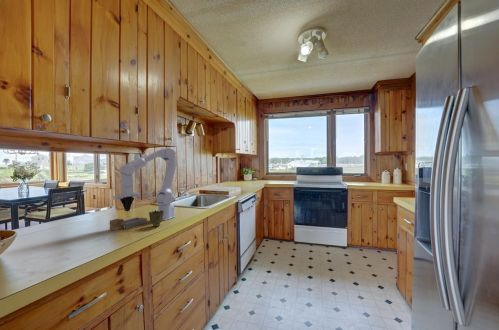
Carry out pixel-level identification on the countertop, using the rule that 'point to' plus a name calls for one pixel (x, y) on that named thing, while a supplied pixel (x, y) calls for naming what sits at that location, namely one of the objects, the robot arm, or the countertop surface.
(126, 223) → the channel
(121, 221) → the walnut block
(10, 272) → the countertop surface
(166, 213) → the robot arm
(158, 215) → the cup
